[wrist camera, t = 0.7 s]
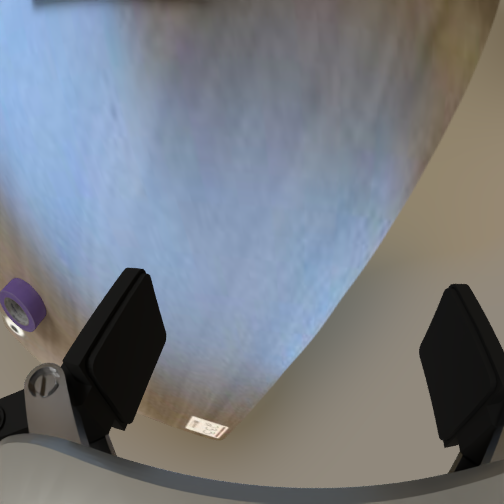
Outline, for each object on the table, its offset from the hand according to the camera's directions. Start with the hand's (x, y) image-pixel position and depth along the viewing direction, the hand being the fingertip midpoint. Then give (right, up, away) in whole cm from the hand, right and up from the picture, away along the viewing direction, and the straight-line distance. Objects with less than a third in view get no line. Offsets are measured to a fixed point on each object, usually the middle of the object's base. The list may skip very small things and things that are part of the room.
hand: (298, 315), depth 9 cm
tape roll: (-53, -9, +48) cm, 71 cm away
